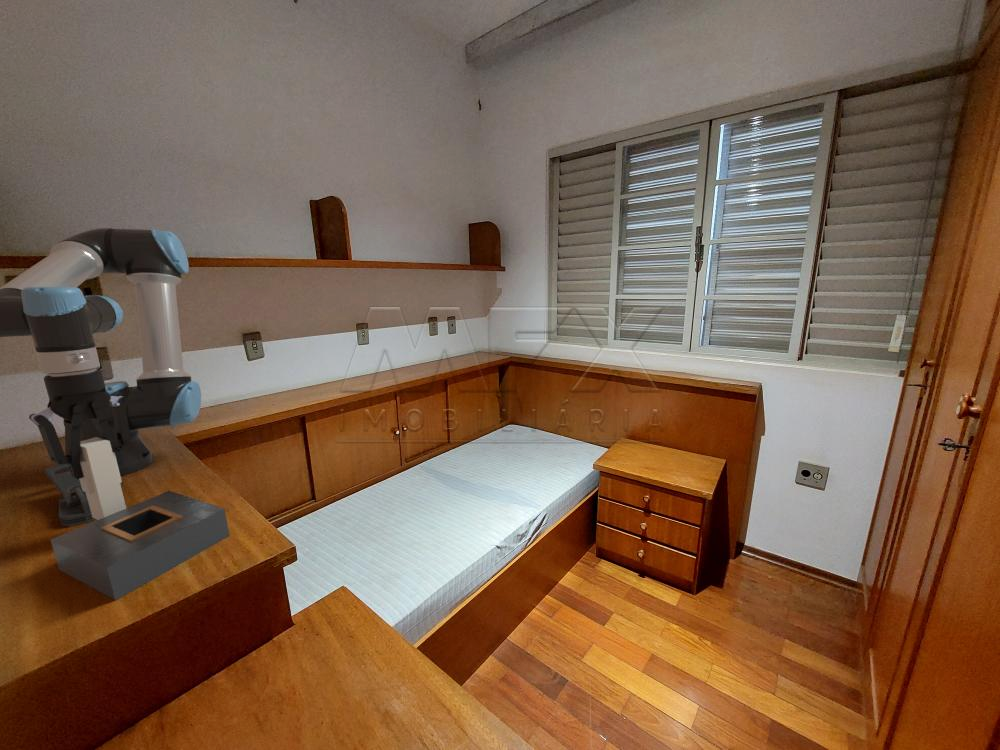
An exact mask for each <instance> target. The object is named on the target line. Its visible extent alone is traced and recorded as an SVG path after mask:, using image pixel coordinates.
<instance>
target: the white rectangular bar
mask: <svg viewBox="0 0 1000 750" xmlns="http://www.w3.org/2000/svg"><path fill="white" fill-rule="evenodd" d="M80 448H81V459H82V460H85V461H87V464H88V468H89V472H90V476H91V479H92V483H93V487H94V491H95V492H93V493H91V494H89V493H87V492H86V495H87V499H88V503H89V506H90V510H91V514H92V517H93V518H95V519H97V520H99V519H102V518H104V517H107V516H109V515H112V514H114V513H116V512H119V511H121V510H124V509H126V508H127V505H126V501H125V497H124V494H123V490H122V486H121V483H120V480H119V476H118V472H117V468H116V464H115V460H114V456H113V452H112V448H111V444H110V441H108V440H104V439H101V438H97V437H95V438H91V439H88V440H84V441H80ZM97 520H96V521H97Z"/></svg>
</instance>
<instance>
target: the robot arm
mask: <svg viewBox="0 0 1000 750" xmlns="http://www.w3.org/2000/svg"><path fill="white" fill-rule="evenodd" d="M189 266H190V265H189V260H188V256H187V254H186V251H185V248H184V246H183V244H182V242H181V240H180V239H179V238H178V236H177V235H176V234H174V232H171V231H169V230H159V229H157V230H156V229H154V228H151V229H141V228H140V229H137V228H110V227H109V228H108V227H102V228H101V227H100V228H95V229H94V228H93V229H89V230H86V231H82V232H80V233H76V234H73V235H71V236H69V237H66V238H64V239H62V240H61V241H59V242H57V243H56V244H54V245H52V247H51V249H50V251H49V255H47V256H46V257H45V258H43V259H41V260H40V261H39V262H37V263H36V264H34V265H32V266H30V267H29V268H28V269H26V270H25V271H23V272H22V273H20V274H19V275H18V276H16V277H14V278H13V279H11V280H9V281H8V282H7V283H6V284H4V285H2V286H1V287H0V338H9V337H10V338H11V337H32V340H33V343H34V349H35V352H36V355H37V360H38V363H39V367H40V368H39V369H40V371H41V373H42V374H45V376H44V377H43V382H44V385H45V389H46V393H47V396H48V404H47V405H46V408H45V409H43V410H41V411H40V412H38V413H32V414H30V415H28V418H29V420H30V421H31V422H33V424H35V425H36V426H37V428H38V430H39V432H40V435H41V437H42V441H43V443H44V445H45V447H46V451H47V453H48V456H49V459H50V461H51V462H52V463H55V464H57V465H60V464H68V466H69V469H68V471H70V473H71V476H72V477H73V478H75V479H79V480H80V483H81V487H82V491H84V492H87V493H89V494H91V493H93V492H95V491H94V487H93V483H92V479H91V476H90V472H89V468H88V464H87V461H85V460H82V459H81V448H80V441H84V440H88V439H91V438H95V437H97V438H101V439H104V440H108V441H110V444H111V448H112V452H113V456H114V460H115V464H116V468H117V472H118V476H119V480H120V484H121V483H122V482H123V480H122V477H121V476H125V475H128V474H132V473H135V472H137V471H139V470H141V469H144V468H146V467H147V466H149V465H150V464H151V463H152V462H153V461H154V459H153V456H152V452H151V450H150V449H149V447H148V446H147V444H146V443H145V442H144V441H143V440H142V437H140V434H139V431H138V430H141V429H150V428H151V429H153V428H161V427H162V428H163V427H171V426H172V427H175V426H178V425H184V424H190V423H192V422H194V421H195V420H196V418H197V417H198V415H199V413H200V409H201V405H202V391H201V386H200V384H199V383H198V382H196V381H194V380H192V376H191V374H189V373H188V372H187V371H185V369H184V362H183V351H182V341H181V331H180V320H179V319H180V318H179V310H178V299H177V289H176V287H178V285H180V284H181V283H182V275H186V274H188V273H189V272H190V271H189V269H190V267H189ZM103 274H104V275H105V274H107V275H108V274H125V275H126V276H125V277H126V280H128V281H129V282H131V283H132V284H134V285H133V286H134V289H135V290H134V292H135V300H136V301H135V302H136V311H137V321H138V332H139V342H140V343H139V344H140V352H141V364H142V373H141V374H140V375H139V376H138V377H136V386H135V385H134V386H130V385H129V383H128V382H127V381H126V380H122V381H121V380H118V381H111V382H106V383H105V378H104V374H103V372H102V370H100V369H98V368H99V367H101V363H100V359H99V354H98V350H97V347H96V343H95V339H94V334H99V333H107V332H110V331H111V330H113V329H115V328H117V327H118V326H120V324H121V323H122V322H123V318H124V311H123V309H122V307H121V306H120V305H119V303H118V302H117V301H115V300H114V299H112V298H110V297H107V296H104V295H97V294H86V295H84V294H83V291H82V290H81V289H80V288H79V287H80V285H82V284H83V282H85V281H86V280H91V279H94V278H97V277H98V276H100V275H103ZM53 414H55V415H57V416H58V417H60V418H62V420H63V426H64V449H65V450H64V449H63V446H62V444H61V442H60V440H59V435H58V434H57V431H56V428H55V426H54V425H53V420H54V417H53ZM64 451H65V452H64Z"/></svg>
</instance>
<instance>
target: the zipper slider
mask: <svg viewBox="0 0 1000 750" xmlns="http://www.w3.org/2000/svg"><path fill="white" fill-rule="evenodd" d="M43 470H44V473H45V475H47V477H48V478H49V480H50V481H51V482H52V484H54V486H55V487H56V488H57V489H58V491H59V493H61V495H62V497H60V498H59V499H58V519H59V523H60V526H64V527H70V528H71V527H72V528H73V527H76V526H79V525H84V524H89V523H92V522H94V521H97V519H95V518H93V517H92V514H91V510H90V506H89V503H88V499H87V495H86V492H84V491H82V487H81V483H80V480H79V479H75V478H73V477H72V476H71V473H70V470H69V466H68V464H57V465H54V466H50V467H48V468H45V469H43ZM66 470H67V471H66ZM63 471H64V472H63ZM73 491H74V492H73Z"/></svg>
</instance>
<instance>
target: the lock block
mask: <svg viewBox="0 0 1000 750" xmlns="http://www.w3.org/2000/svg"><path fill="white" fill-rule="evenodd" d="M228 537H230V531H229V525H228V520H227V514H226V508H224V507H220V506H218V505H216V504H215V505H214V504H212V503H208V502H205V501H202V500H200V499H196V498H193V497H190V496H187V495H183V494H181V493H178V492H174V491H172V490H171V491H170V490H168V491H166V492H163V493H161V494H158V495H156V496H153V497H150V498H149V499H145V500H144V501H141V502H139V503H136V504H134V505H131V506H129V507H126V509H124V510H121V511H119V512H116V513H114V514H112V515H109V516H107V517H104V518H102V519H99V520H94V521H91V522H89V523H86V524H85V525H82V526H79V527H78V528H76V529H73V530H70V531H68V532H66V533H65V532H64V533H62V534H60V535H58V536H56V537H54V538H50V544H51V546H52V550H53V553H54V557H55V561H56V565H57V567H58V570H59V571H60V572H62V573H64V574H65V575H68V576H70V577H71V578H73V579H75V580H77V581H79V582H81V583H82V584H84V585H86V586H88V587H90V588H92V589H94V590H96V591H97V592H99V593H101V594H103V595H105V596H107V597H108V598H110V599H111V600H114V601H117V600H119V599H120V598H122V597H124V596H126V595H128V594H129V593H131V592H133V591H135V590H137V589H138V588H140V587H141V586H144V585H145V584H147V583H150V582H151V581H152V580H154V579H156V578H158V577H160V576H161V575H162V574H165V573H166V572H168V571H170V570H171V569H173V568H175V567H177V566H179V565H181V564H183V563H184V562H186V561H187V560H189V559H191V558H193V557H195V556H196V555H198V554H199V553H201V552H204V551H205V550H208V549H209V548H210V547H212V546H214V545H215V544H217V543H219V542H221V541H222V540H225V539H226V538H228Z"/></svg>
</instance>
